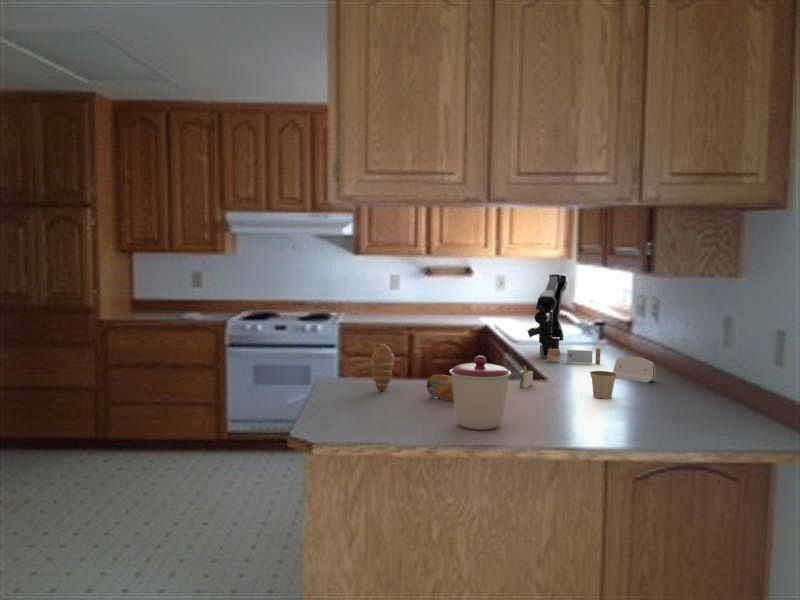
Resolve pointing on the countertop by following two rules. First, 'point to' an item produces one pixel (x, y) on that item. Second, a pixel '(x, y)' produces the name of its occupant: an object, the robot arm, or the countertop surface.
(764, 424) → the countertop surface
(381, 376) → the croissant
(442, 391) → the tin
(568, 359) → the door
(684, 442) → the countertop surface
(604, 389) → the flower pot
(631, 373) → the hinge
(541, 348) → the block
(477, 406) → the canister
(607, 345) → the countertop surface
